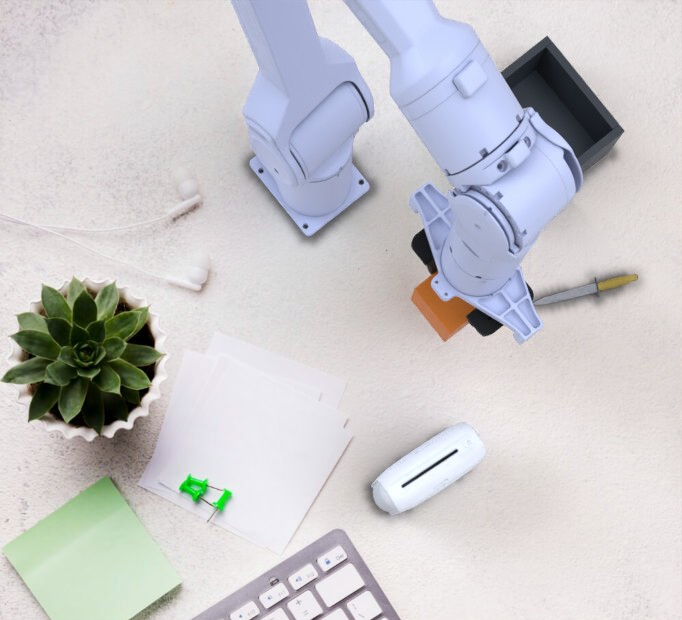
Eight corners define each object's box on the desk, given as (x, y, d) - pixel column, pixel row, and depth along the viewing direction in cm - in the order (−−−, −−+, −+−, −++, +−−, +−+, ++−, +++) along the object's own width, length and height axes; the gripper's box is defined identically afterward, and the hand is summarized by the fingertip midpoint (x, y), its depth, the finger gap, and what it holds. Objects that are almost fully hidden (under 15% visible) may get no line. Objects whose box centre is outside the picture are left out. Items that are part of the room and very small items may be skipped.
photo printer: (450, 427, 84) (471, 410, 72) (474, 464, 84) (499, 452, 71) (363, 485, 84) (369, 477, 71) (387, 521, 84) (397, 520, 71)
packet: (410, 299, 77) (413, 288, 74) (470, 252, 77) (477, 238, 74) (444, 342, 77) (449, 333, 74) (504, 295, 77) (513, 284, 74)
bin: (444, 133, 84) (451, 110, 80) (535, 61, 85) (547, 34, 80) (518, 224, 84) (529, 206, 80) (609, 152, 85) (624, 130, 80)
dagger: (534, 314, 84) (530, 294, 83) (532, 314, 85) (528, 294, 84) (640, 286, 83) (636, 266, 83) (637, 287, 84) (633, 266, 84)
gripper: (383, 196, 62) (373, 256, 76) (506, 352, 62) (475, 384, 76) (458, 137, 62) (435, 207, 76) (582, 293, 62) (537, 335, 76)
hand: (459, 292), depth 76 cm, fingers closed on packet, 5 cm apart
